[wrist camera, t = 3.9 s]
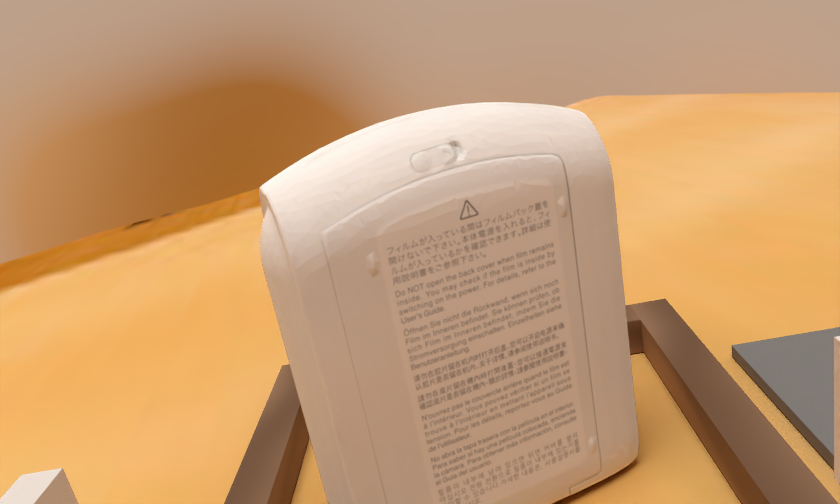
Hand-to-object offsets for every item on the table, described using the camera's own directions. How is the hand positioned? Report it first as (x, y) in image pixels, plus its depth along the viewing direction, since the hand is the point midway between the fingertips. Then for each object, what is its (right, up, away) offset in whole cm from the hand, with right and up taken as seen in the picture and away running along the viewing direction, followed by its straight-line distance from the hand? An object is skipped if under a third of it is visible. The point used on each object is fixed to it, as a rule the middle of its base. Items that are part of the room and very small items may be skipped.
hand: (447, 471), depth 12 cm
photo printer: (+2, -4, +10) cm, 11 cm away
